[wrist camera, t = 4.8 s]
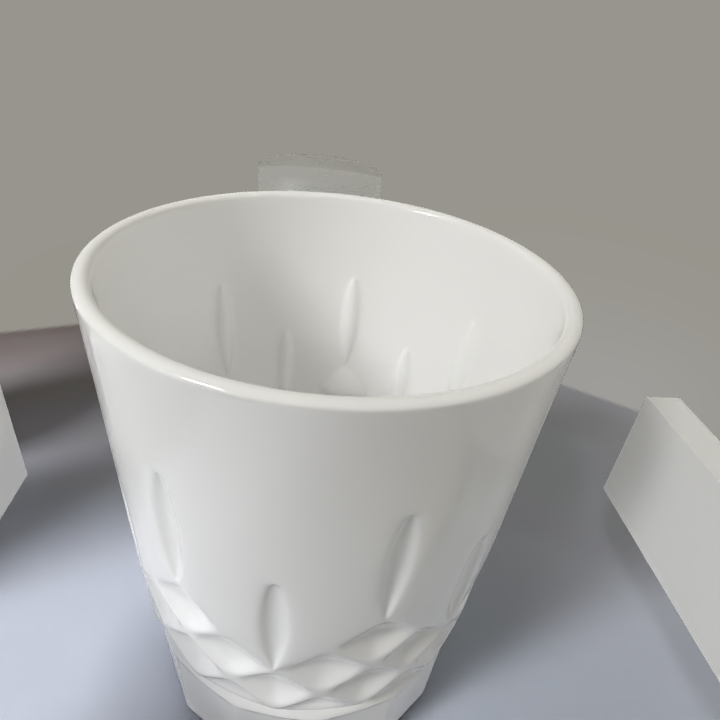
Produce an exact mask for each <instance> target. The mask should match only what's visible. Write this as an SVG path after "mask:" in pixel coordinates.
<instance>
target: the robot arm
mask: <svg viewBox="0 0 720 720" xmlns="http://www.w3.org/2000/svg"><path fill="white" fill-rule="evenodd" d="M27 475H28V474H27V471H26V468H25V464H24V461H23V458H22V454H21V451H20V448H19V445H18V441H17V438H16V435H15V431H14V428H13V425H12V422H11V418H10V415H9V412H8V408H7V405H6V402H5V398H4V395H3V392H2V389H1V385H0V519H1V517H2V516H3V514H4V512H5V511H6V509H7V508H8V506H9V504H10V503H11V501H12V499H13V498H14V496H15V494H16V493H17V491H18V490H19V488H20V486H21V485H22V483H23V481H24V480H25V478H26V477H27ZM603 489H604V490H605V492H606V494H607V495H608V497H609V499H610V500H611V502H612V504H613V505H614V507H615V509H616V510H617V512H618V514H619V515H620V517H621V519H622V520H623V522H624V524H625V525H626V527H627V529H628V530H629V532H630V534H631V535H632V537H633V539H634V540H635V542H636V544H637V545H638V547H639V549H640V550H641V552H642V554H643V555H644V557H645V559H646V560H647V562H648V564H649V565H650V567H651V569H652V570H653V572H654V574H655V575H656V577H657V579H658V580H659V582H660V584H661V585H662V587H663V589H664V591H665V592H666V594H667V596H668V597H669V599H670V601H671V602H672V604H673V606H674V607H675V609H676V611H677V612H678V614H679V616H680V617H681V619H682V621H683V622H684V624H685V626H686V627H687V629H688V631H689V632H690V634H691V636H692V637H693V639H694V641H695V642H696V644H697V646H698V647H699V649H700V651H701V652H702V654H703V656H704V657H705V659H706V661H707V662H708V664H709V666H710V667H711V669H712V671H713V672H714V674H715V676H716V677H717V679H718V681H719V682H720V441H719V440H718V439H717V438H716V437H715V436H714V434H712V432H711V431H710V430H709V429H708V428H707V427H706V426H705V425H704V424H703V423H702V422H701V420H699V418H698V417H697V416H696V415H695V414H694V413H693V412H692V411H691V410H690V409H689V408H688V407H687V405H686V404H685V403H684V402H683V401H682V400H681V399H680V398H668V397H646V399H645V401H644V403H643V405H642V407H641V409H640V411H639V414H638V416H637V418H636V420H635V422H634V424H633V426H632V428H631V430H630V433H629V435H628V437H627V439H626V441H625V443H624V445H623V447H622V449H621V452H620V454H619V456H618V458H617V460H616V462H615V464H614V466H613V468H612V471H611V473H610V475H609V477H608V479H607V481H606V483H605V485H604V487H603Z"/></svg>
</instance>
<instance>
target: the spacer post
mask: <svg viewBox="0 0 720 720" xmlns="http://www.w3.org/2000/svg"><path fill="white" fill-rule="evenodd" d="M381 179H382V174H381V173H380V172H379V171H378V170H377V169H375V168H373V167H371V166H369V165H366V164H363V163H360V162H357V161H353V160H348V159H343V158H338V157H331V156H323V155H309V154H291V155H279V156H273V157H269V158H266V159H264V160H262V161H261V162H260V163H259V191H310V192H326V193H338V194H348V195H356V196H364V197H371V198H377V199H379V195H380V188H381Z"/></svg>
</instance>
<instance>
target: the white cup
mask: <svg viewBox="0 0 720 720" xmlns="http://www.w3.org/2000/svg"><path fill="white" fill-rule="evenodd" d="M70 290H71V296H72V300H73V303H74V307H75V311H76V315H77V319H78V323H79V326H80V330H81V334H82V338H83V342H84V346H85V350H86V353H87V357H88V361H89V365H90V369H91V373H92V377H93V381H94V384H95V388H96V392H97V396H98V400H99V404H100V408H101V412H102V416H103V420H104V424H105V428H106V432H107V436H108V440H109V444H110V448H111V452H112V456H113V460H114V464H115V468H116V472H117V475H118V479H119V483H120V487H121V491H122V495H123V499H124V503H125V507H126V511H127V515H128V519H129V523H130V527H131V531H132V535H133V539H134V543H135V547H136V551H137V554H138V558H139V562H140V567H141V570H142V572H143V575H144V577H145V580H146V582H147V585H148V589H149V593H150V597H151V601H152V605H153V609H154V612H155V614H156V616H157V618H158V619H159V621H160V622H161V623H162V624H163V625H164V628H165V633H166V638H167V642H168V646H169V649H170V652H171V655H172V658H173V661H174V664H175V668H176V671H177V674H178V677H179V680H180V683H181V686H182V689H183V692H184V695H185V698H186V702H187V704H188V706H189V708H191V709H192V710H193V711H194V712H195V713H196V714H197V715H198V716H200V717H201V718H202V719H203V720H398V719H399V718H400V717H401V716H402V715H403V714H404V713H405V712H406V711H407V710H408V708H409V707H410V706H411V705H412V704H413V703H414V702H415V701H416V700H417V699H418V698H419V696H420V695H421V694H422V693H423V691H424V689H425V686H426V684H427V681H428V679H429V676H430V674H431V671H432V668H433V666H434V663H435V661H436V658H437V656H438V653H439V651H440V648H441V646H442V645H443V643H444V641H445V640H446V638H447V637H448V635H449V633H450V632H451V630H452V628H453V627H454V625H455V623H456V621H457V620H458V618H459V616H460V614H461V612H462V610H463V608H464V605H465V603H466V601H467V598H468V596H469V594H470V591H471V589H472V586H473V584H474V581H475V579H476V578H477V576H478V574H479V572H480V570H481V568H482V566H483V564H484V562H485V560H486V558H487V556H488V554H489V552H490V550H491V547H492V545H493V543H494V541H495V538H496V536H497V534H498V531H499V529H500V527H501V524H502V522H503V520H504V517H505V515H506V512H507V510H508V508H509V505H510V503H511V501H512V498H513V496H514V493H515V491H516V489H517V486H518V484H519V482H520V479H521V477H522V474H523V472H524V470H525V467H526V465H527V462H528V460H529V458H530V455H531V453H532V450H533V448H534V446H535V443H536V441H537V438H538V436H539V434H540V431H541V429H542V427H543V424H544V422H545V420H546V417H547V415H548V413H549V410H550V408H551V406H552V403H553V401H554V399H555V396H556V394H557V392H558V389H559V387H560V385H561V382H562V380H563V378H564V375H565V373H566V371H567V368H568V366H569V364H570V361H571V359H572V356H573V355H574V352H575V349H576V348H577V345H578V343H579V341H580V338H581V335H582V330H583V312H582V308H581V304H580V302H579V299H578V297H577V295H576V293H575V292H574V290H573V289H572V287H571V286H570V285H569V283H568V282H567V281H566V280H565V278H564V277H563V276H562V275H561V274H560V273H559V272H558V271H557V270H556V269H555V268H553V267H552V266H551V265H550V264H549V263H547V262H546V261H545V260H543V259H542V258H541V257H539V256H538V255H537V254H535V253H533V252H532V251H530V250H529V249H527V248H525V247H524V246H522V245H520V244H519V243H517V242H515V241H513V240H511V239H509V238H507V237H505V236H503V235H501V234H499V233H496V232H494V231H492V230H489V229H487V228H485V227H482V226H480V225H477V224H474V223H471V222H469V221H466V220H463V219H460V218H457V217H454V216H451V215H448V214H444V213H441V212H437V211H434V210H430V209H426V208H422V207H418V206H413V205H409V204H404V203H399V202H394V201H389V200H383V199H377V198H371V197H364V196H356V195H348V194H338V193H326V192H310V191H255V192H238V193H228V194H218V195H211V196H203V197H197V198H191V199H186V200H181V201H177V202H173V203H169V204H165V205H161V206H158V207H154V208H151V209H148V210H145V211H143V212H140V213H137V214H135V215H132V216H130V217H128V218H126V219H123V220H122V221H119V222H117V223H115V224H114V225H112V226H110V227H108V228H107V229H106V230H104V231H103V232H101V233H100V234H98V235H97V236H96V237H94V238H93V239H92V240H91V241H90V242H89V243H88V244H87V245H86V246H85V247H84V248H83V250H82V251H81V252H80V254H79V255H78V257H77V258H76V260H75V262H74V264H73V267H72V270H71V275H70Z"/></svg>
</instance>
